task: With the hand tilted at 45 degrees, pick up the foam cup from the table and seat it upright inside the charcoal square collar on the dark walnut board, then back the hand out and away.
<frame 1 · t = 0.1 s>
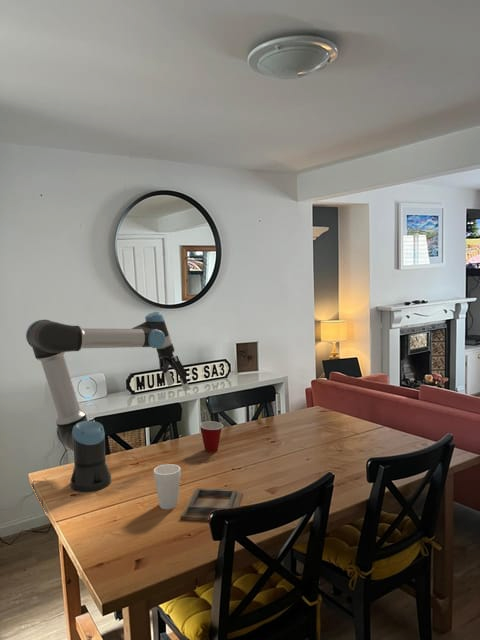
hand: (178, 387, 241), 28 cm above the table, tool tilted 20°, fingers open, 13 cm apart
plastic cup: (212, 450, 238), on the table
foam cup: (168, 505, 185), on the table
holder board: (213, 506, 182), on the table
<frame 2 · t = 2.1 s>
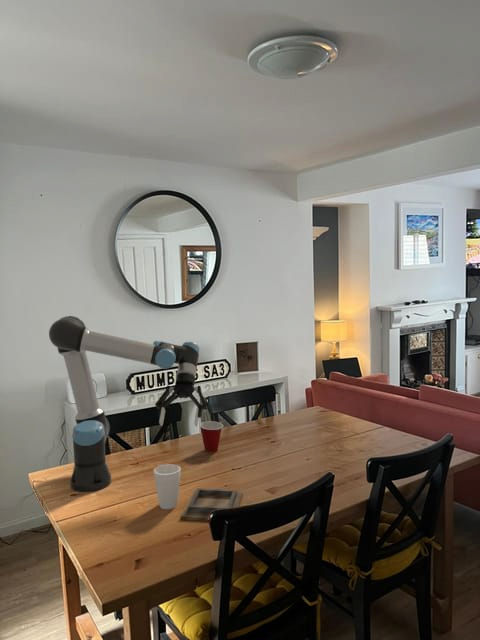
hand: (178, 424, 199), 24 cm above the table, tool tilted 45°, fingers open, 13 cm apart
nothing on the table moved.
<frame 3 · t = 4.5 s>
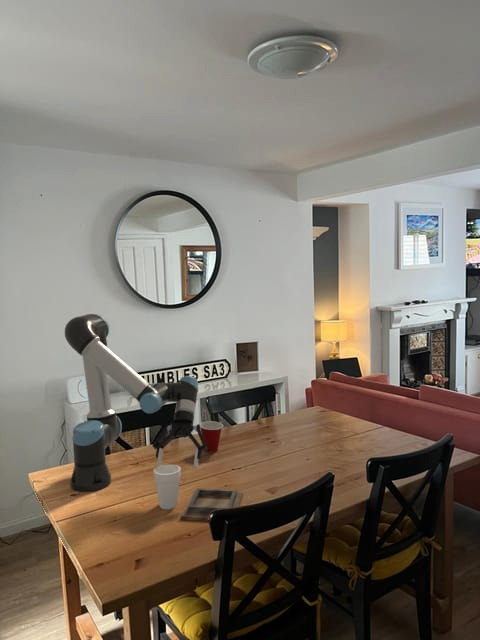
hand: (176, 467, 189), 11 cm above the table, tool tilted 45°, fingers open, 13 cm apart
nothing on the table moved.
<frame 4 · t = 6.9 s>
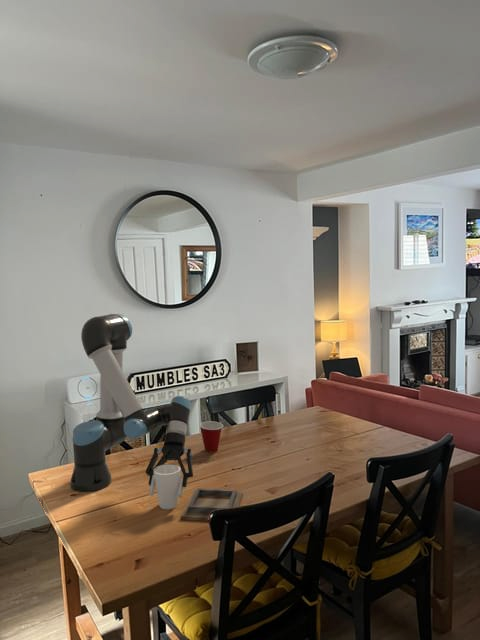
hand: (165, 495, 181), 5 cm above the table, tool tilted 45°, fingers closed on foam cup, 9 cm apart
foam cup: (168, 505, 185), on the table, touching gripper
everything else where it was.
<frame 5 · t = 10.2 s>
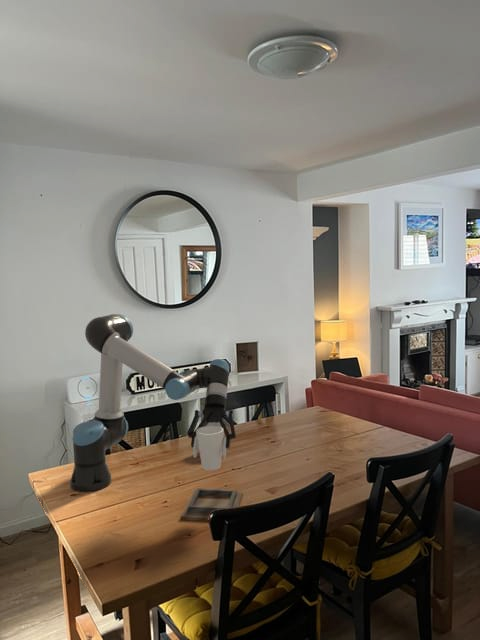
hand: (209, 456, 177), 19 cm above the table, tool tilted 45°, fingers closed on foam cup, 9 cm apart
foam cup: (211, 467, 181), point 14 cm above the table, touching gripper
everything else where it was.
when the fingers open (7 cm above the table, at t = 13.5 s): foam cup drops 1 cm, resting on holder board.
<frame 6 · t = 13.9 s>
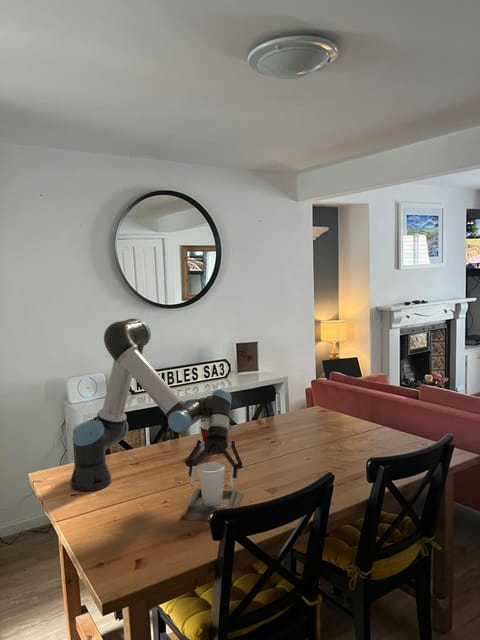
hand: (211, 486, 179), 8 cm above the table, tool tilted 45°, fingers open, 13 cm apart
foam cup: (212, 503, 182), point 1 cm above the table, touching holder board
everything else where it was.
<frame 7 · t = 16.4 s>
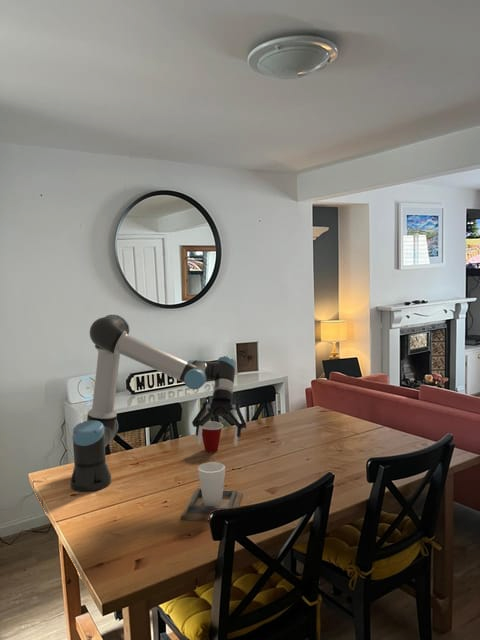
hand: (216, 444, 191), 19 cm above the table, tool tilted 45°, fingers open, 13 cm apart
nothing on the table moved.
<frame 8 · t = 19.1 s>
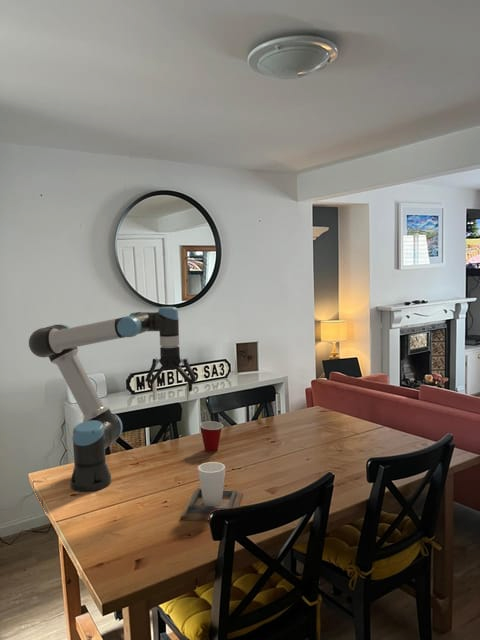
hand: (171, 399, 209), 31 cm above the table, tool pointing down, fingers open, 13 cm apart
nothing on the table moved.
at the end: foam cup 0.3 cm off-centre on the holder board, point 1.0 cm above the holder board's base; foam cup tilted 0°; the gripper is holding nothing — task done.
